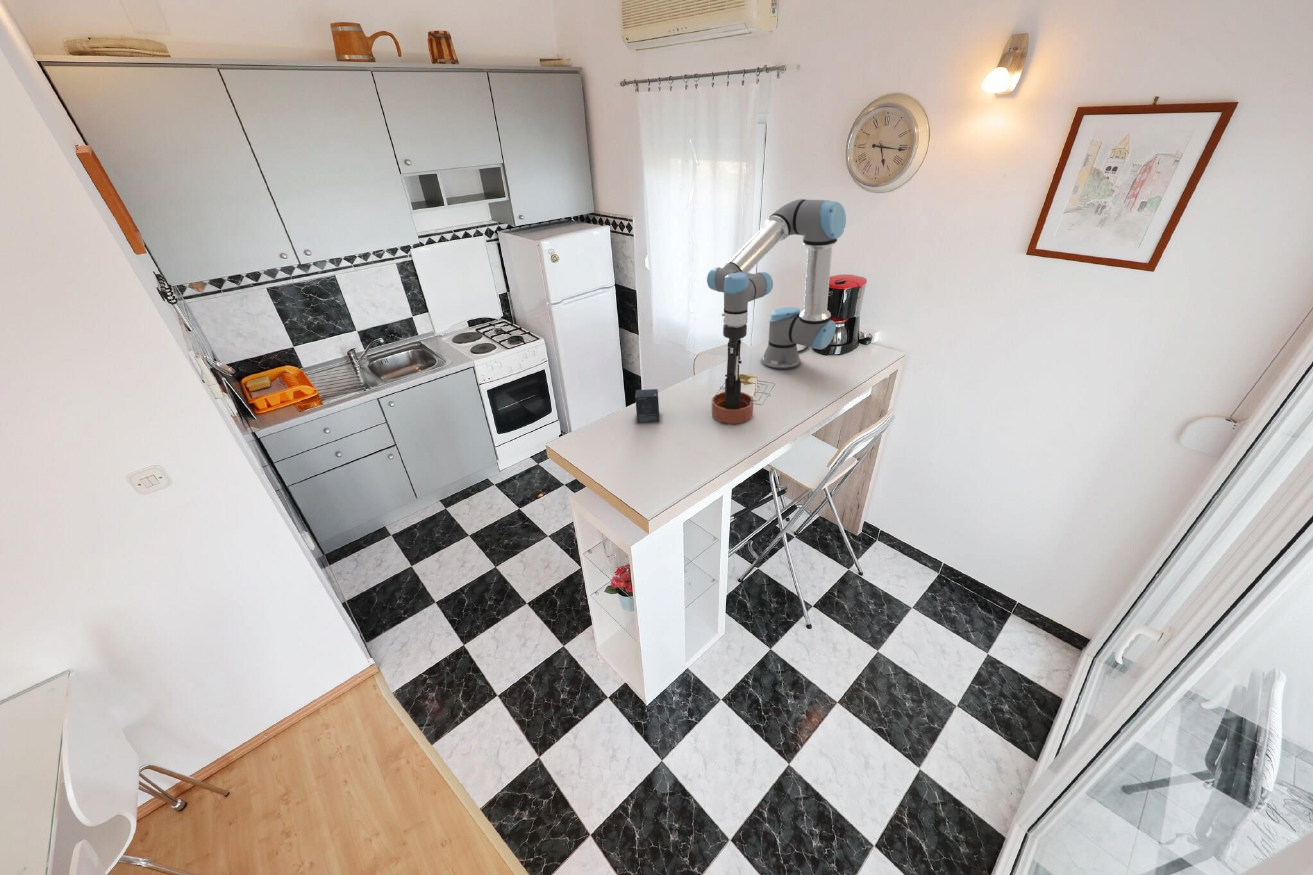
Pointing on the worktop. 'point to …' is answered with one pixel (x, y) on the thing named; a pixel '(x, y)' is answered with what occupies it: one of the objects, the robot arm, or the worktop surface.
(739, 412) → the bowl
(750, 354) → the worktop surface
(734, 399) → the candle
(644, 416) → the box
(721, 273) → the robot arm
